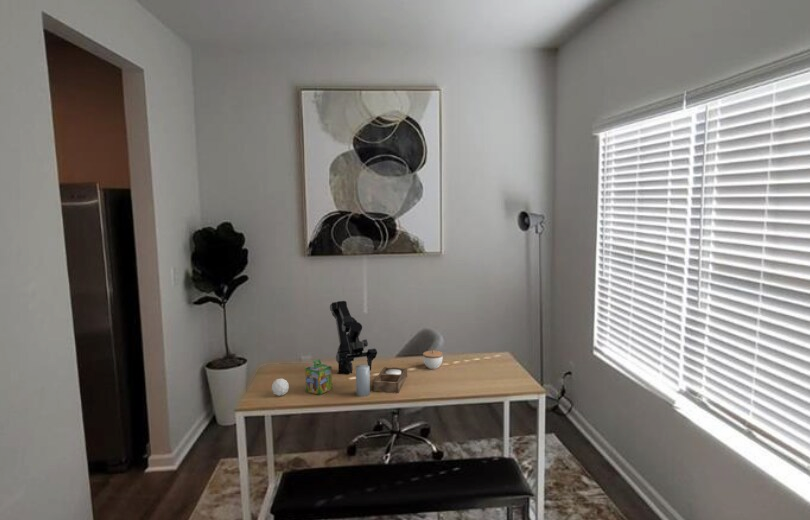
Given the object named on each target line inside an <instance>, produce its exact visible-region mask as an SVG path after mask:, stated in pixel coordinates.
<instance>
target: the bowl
mask: <svg viewBox="0 0 810 520" xmlns="http://www.w3.org/2000/svg"><path fill="white" fill-rule="evenodd" d="M386 374H398V375H401V370H398V369H390V370H387V371H386Z"/></svg>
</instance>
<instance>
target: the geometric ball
mask: <svg viewBox="0 0 810 520" xmlns="http://www.w3.org/2000/svg"><path fill="white" fill-rule="evenodd" d="M289 389H290V386H289V382H288V381H287V380H286V379H284V378H277V379H275V380H274V381H273V383H272V385H271V391H272V393H273V394H274V395H275V396H278V397H281V396H284V395H286V394H287V393H288V391H289Z"/></svg>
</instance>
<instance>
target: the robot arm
mask: <svg viewBox="0 0 810 520" xmlns="http://www.w3.org/2000/svg"><path fill="white" fill-rule="evenodd" d="M347 303H348V302H347V301H346V300H340V301H339V300H338V301H335V302H334V301H333V302H331V304H329V310H330V312H331V316H332V317H334V319H335V323H336V328H337V335H338V336H337V337H338V342H339V345H338V347H337V352H336V354H335V361H336V363H337V364H338V365H337V366H338V372H337V374H338V375H341V374H342V375H349V374H353V371H354V370H353V369H354V368H353V362H354V360H355V359H357V358H365V357H366V362H367V365H368V366H369V367H370V371H372V365H373V364H372V363H373V360H374V359H376V357H377V354H378V351H377V349H376V348H368V349H367V351H365V352H364V349H365V348H366V347H367V346H368V345H369V343H368V340H367V339H363V340H361V341H360V335H361V333H362V330H363V325H362V324H361V323H360V322H358V321H357V319H356V318H355V317H352V315H351V313H350V311H349V308H348V305H347Z"/></svg>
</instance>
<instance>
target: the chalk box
mask: <svg viewBox="0 0 810 520" xmlns="http://www.w3.org/2000/svg"><path fill="white" fill-rule="evenodd" d="M332 370H333V369H332V366H331V365H327V364H323V363H322V361H321V359H320V358H318V359H315V360H314V361H313V365H311V366H308V367H306V368H305V390H306V391H307V392H306V391H305V392H306V393H312V394H316V395H319V396H321V395H323V394H325V393H327V392H329V391H331V389H332V390H333V377H332V376H333V374H332V373H333V371H332Z"/></svg>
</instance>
